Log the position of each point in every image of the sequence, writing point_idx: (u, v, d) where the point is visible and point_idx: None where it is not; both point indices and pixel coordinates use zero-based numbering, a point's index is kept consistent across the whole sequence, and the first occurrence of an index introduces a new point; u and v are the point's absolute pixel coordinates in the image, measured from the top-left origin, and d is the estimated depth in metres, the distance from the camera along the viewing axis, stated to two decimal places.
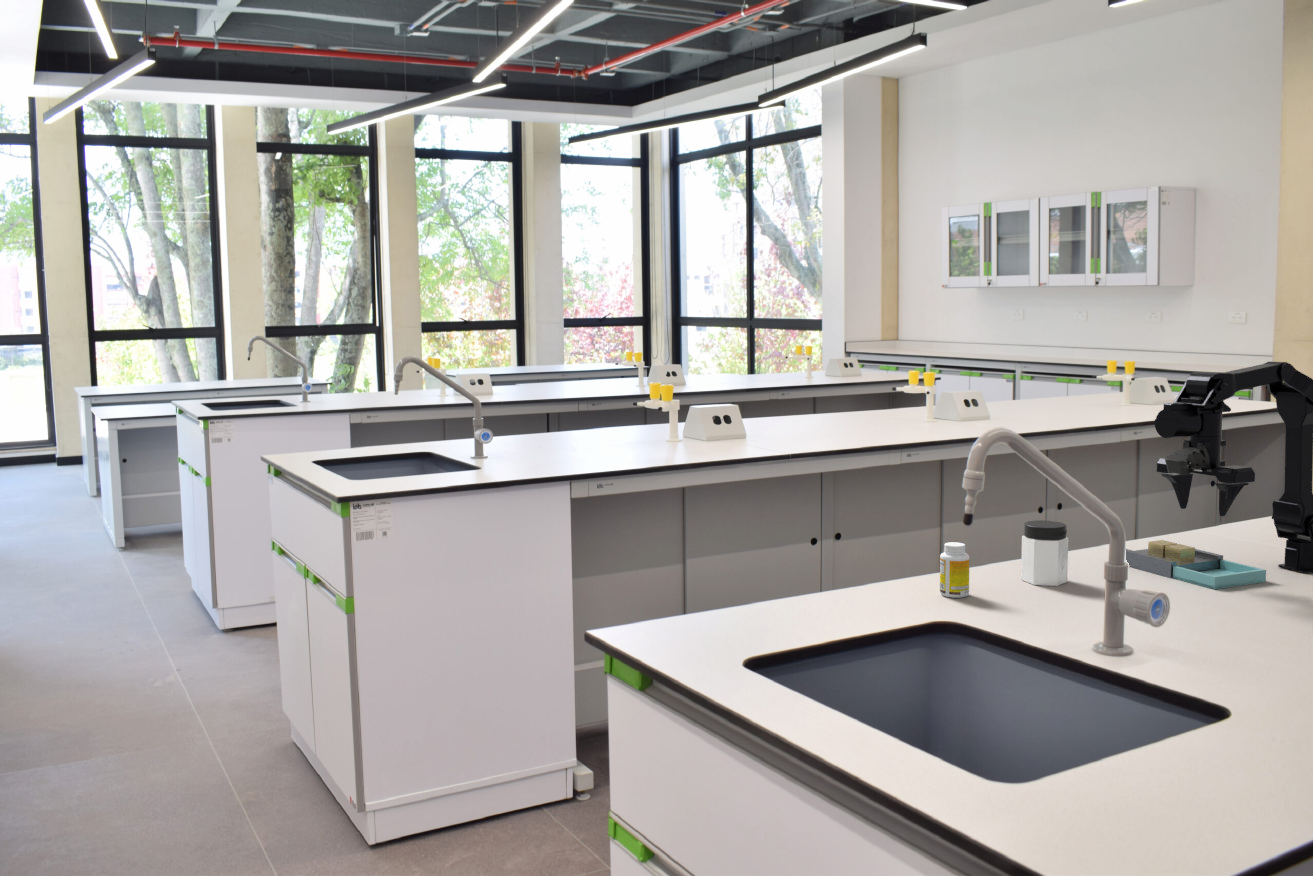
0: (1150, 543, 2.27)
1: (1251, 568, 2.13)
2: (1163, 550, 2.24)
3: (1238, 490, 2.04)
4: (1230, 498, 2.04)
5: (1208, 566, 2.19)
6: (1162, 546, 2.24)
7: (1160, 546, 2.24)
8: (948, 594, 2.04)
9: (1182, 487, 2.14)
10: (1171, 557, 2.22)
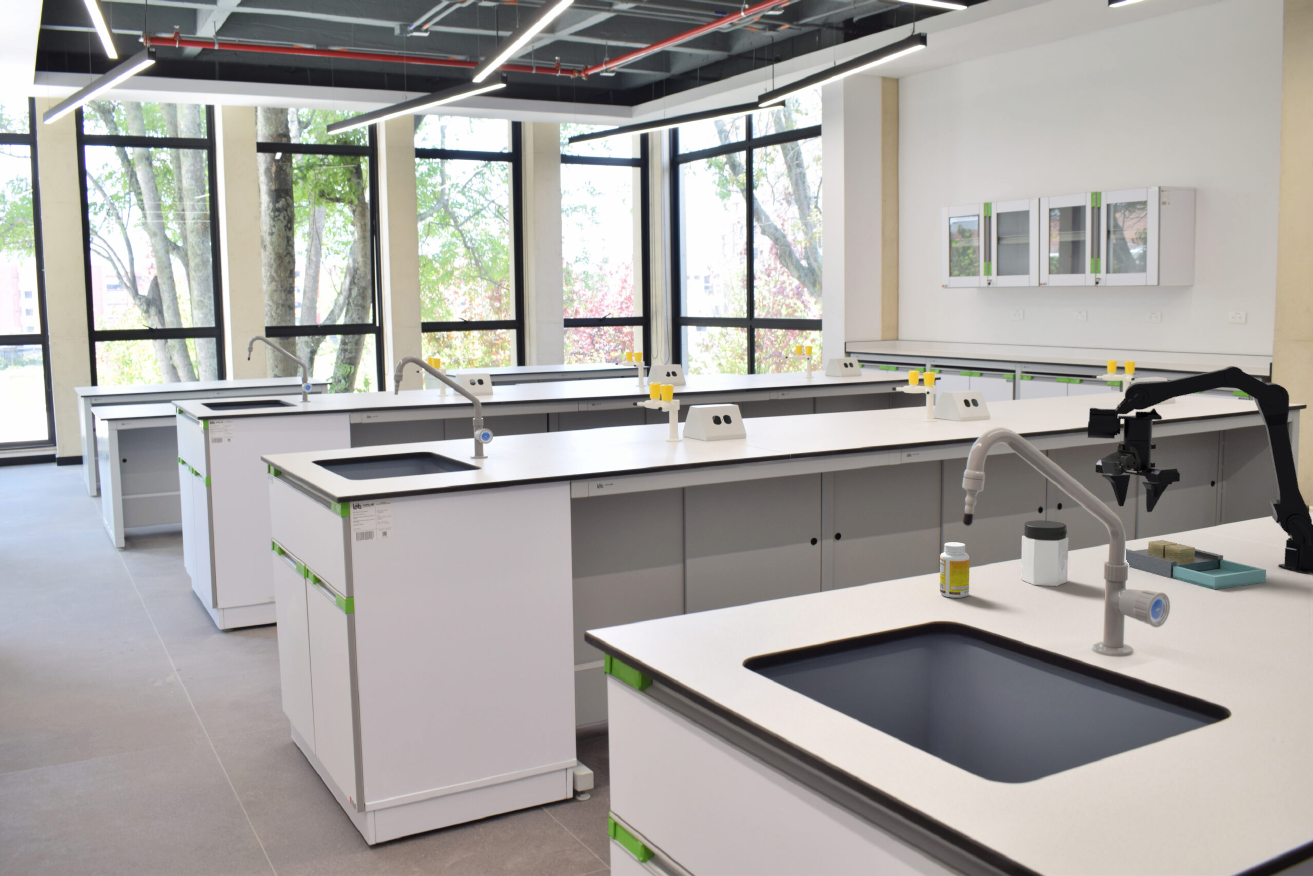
0: (1150, 543, 2.27)
1: (1251, 568, 2.13)
2: (1163, 550, 2.24)
3: (1163, 489, 2.27)
4: (1156, 496, 2.27)
5: (1208, 566, 2.19)
6: (1162, 546, 2.24)
7: (1160, 546, 2.24)
8: (948, 594, 2.04)
9: (1120, 486, 2.36)
10: (1171, 557, 2.22)
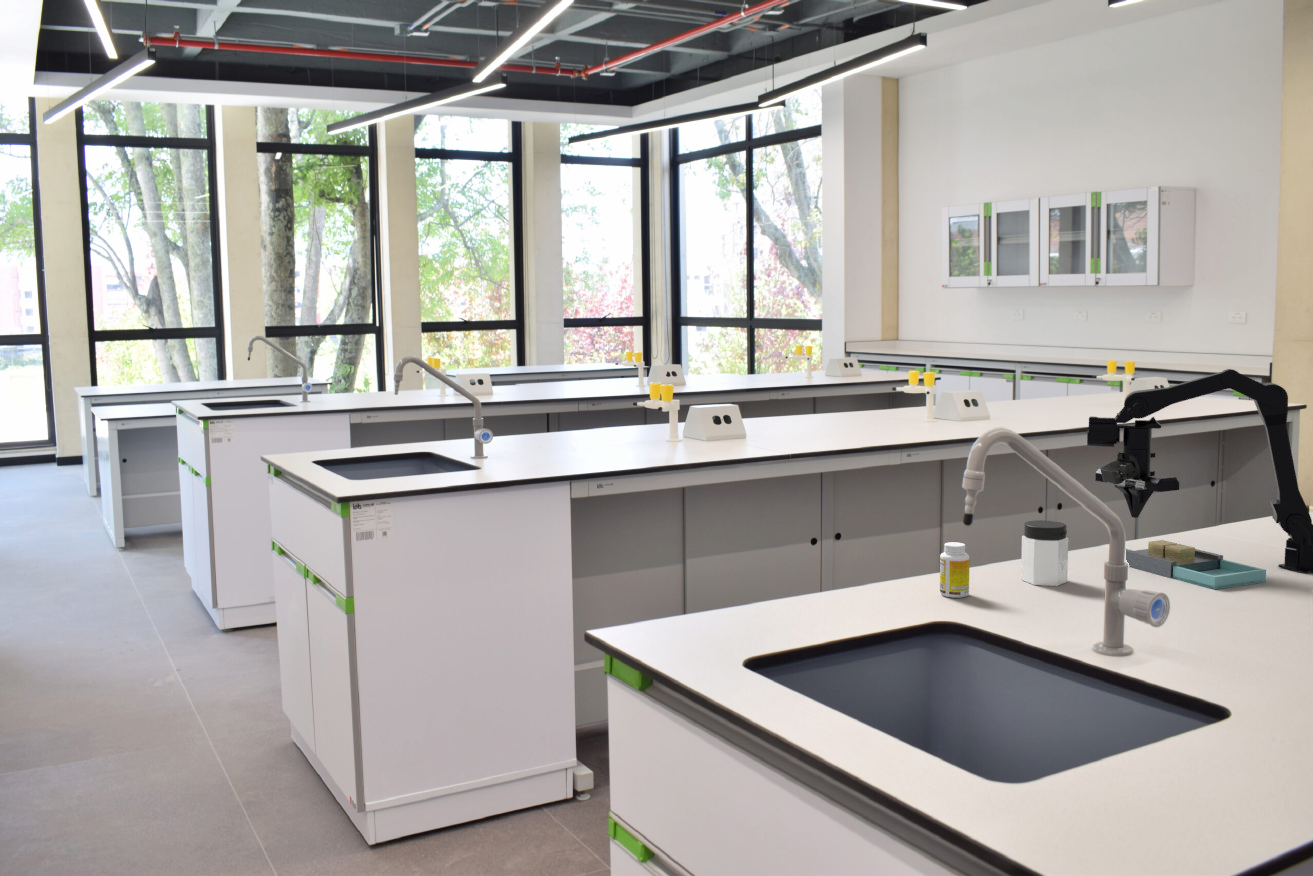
0: (1150, 543, 2.27)
1: (1251, 568, 2.13)
2: (1163, 550, 2.24)
3: (1149, 495, 2.31)
4: (1142, 502, 2.31)
5: (1208, 566, 2.19)
6: (1162, 546, 2.24)
7: (1160, 546, 2.24)
8: (948, 594, 2.04)
9: None
10: (1171, 557, 2.22)
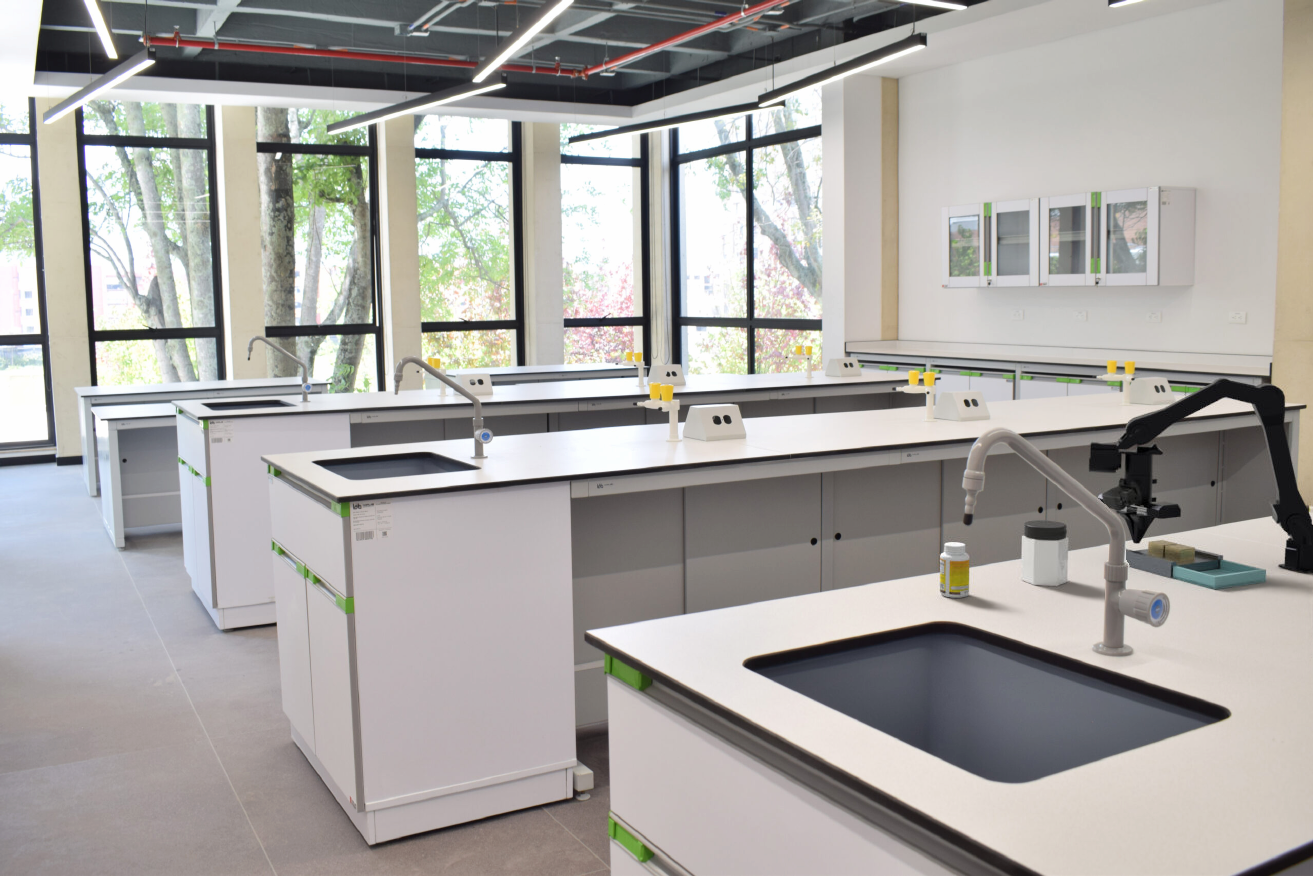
0: (1150, 543, 2.27)
1: (1251, 568, 2.13)
2: (1163, 550, 2.24)
3: (1151, 520, 2.31)
4: (1144, 528, 2.31)
5: (1208, 566, 2.19)
6: (1162, 546, 2.24)
7: (1160, 546, 2.24)
8: (948, 594, 2.04)
9: None
10: (1171, 557, 2.22)
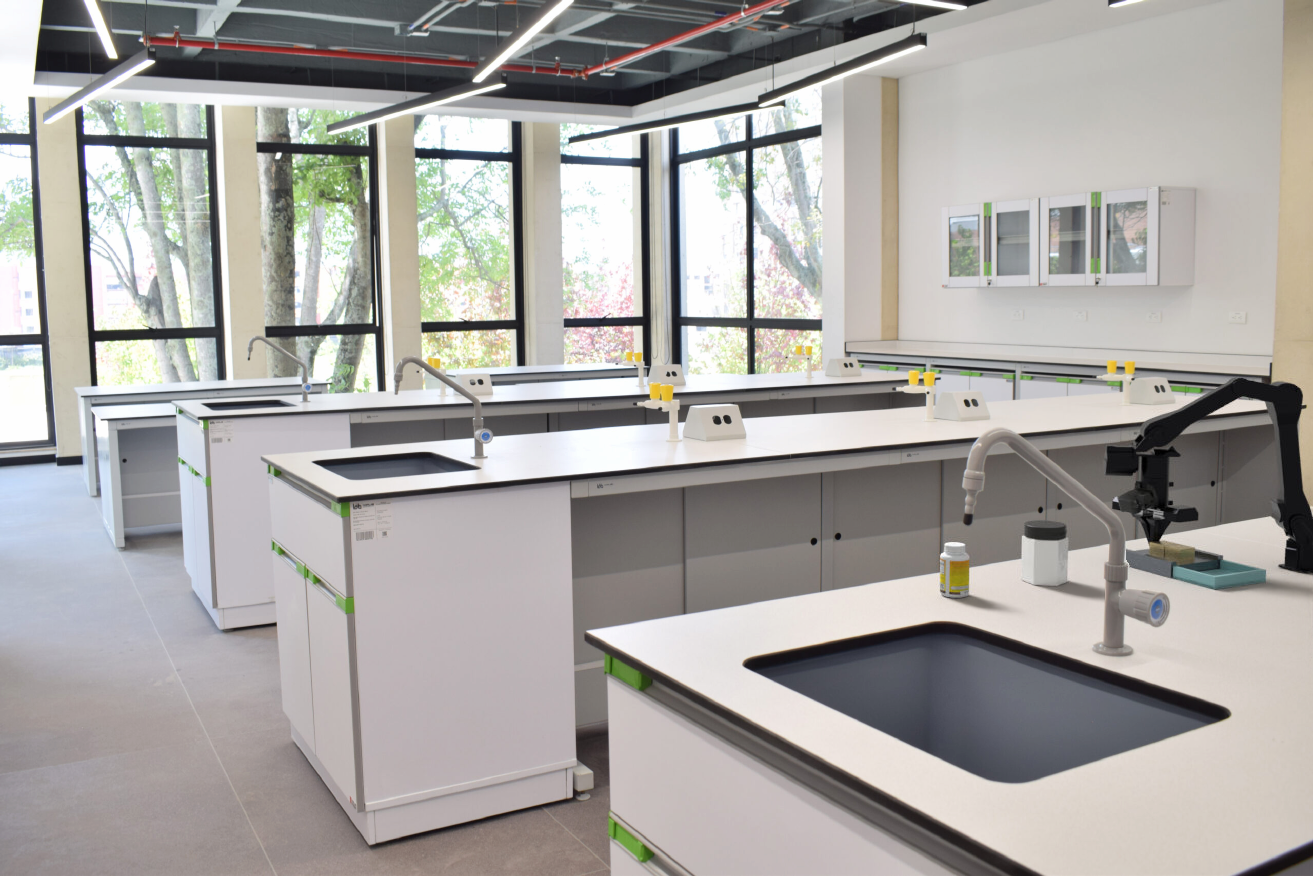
0: (1151, 543, 2.26)
1: (1251, 568, 2.13)
2: (1164, 550, 2.23)
3: (1167, 524, 2.27)
4: (1160, 531, 2.27)
5: (1208, 566, 2.19)
6: (1163, 546, 2.23)
7: (1162, 546, 2.24)
8: (948, 594, 2.04)
9: None
10: (1171, 557, 2.22)
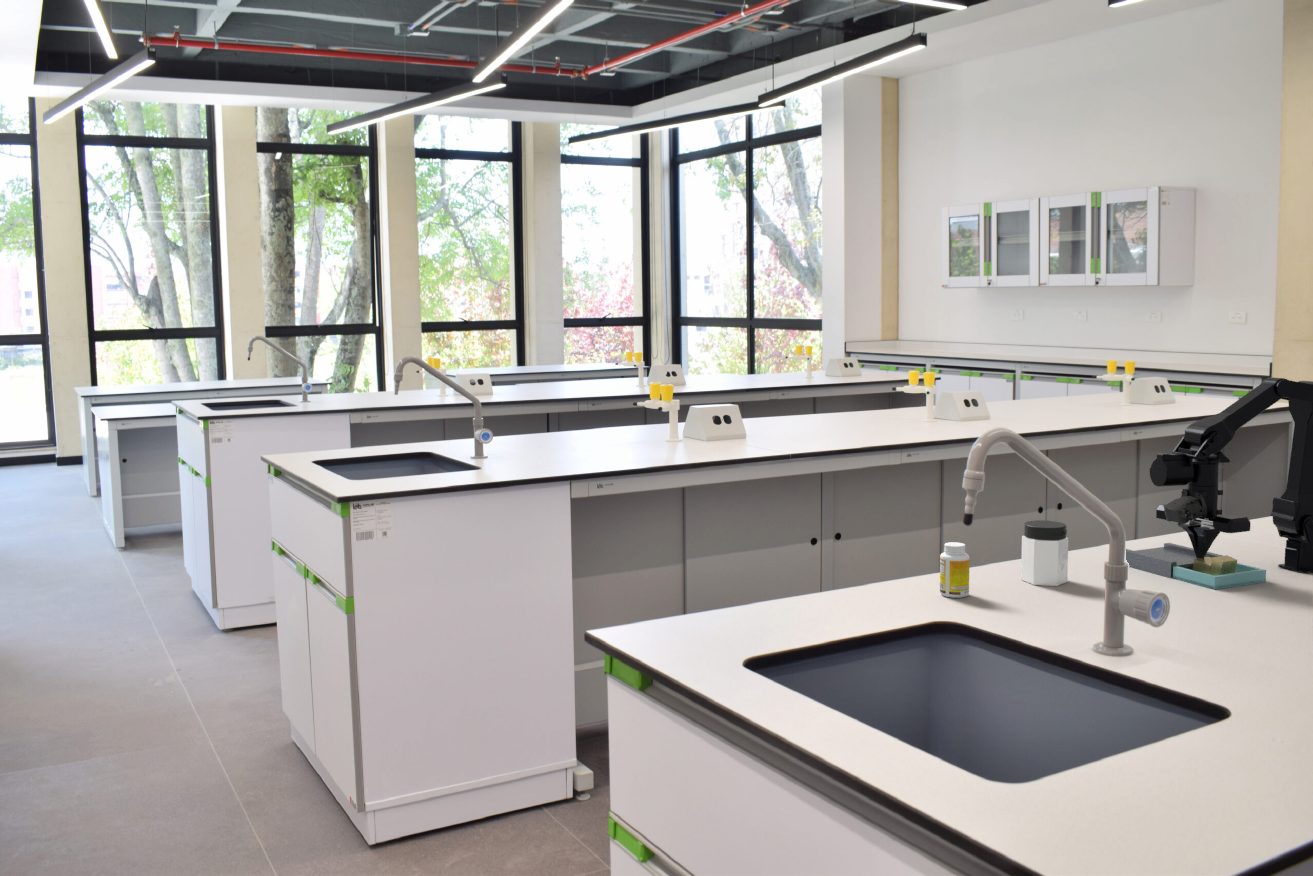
0: (1196, 560, 2.16)
1: (1251, 568, 2.13)
2: (1209, 571, 2.13)
3: (1216, 534, 2.15)
4: (1208, 542, 2.16)
5: None
6: (1209, 567, 2.13)
7: (1207, 566, 2.13)
8: (948, 594, 2.04)
9: None
10: (1211, 565, 2.12)
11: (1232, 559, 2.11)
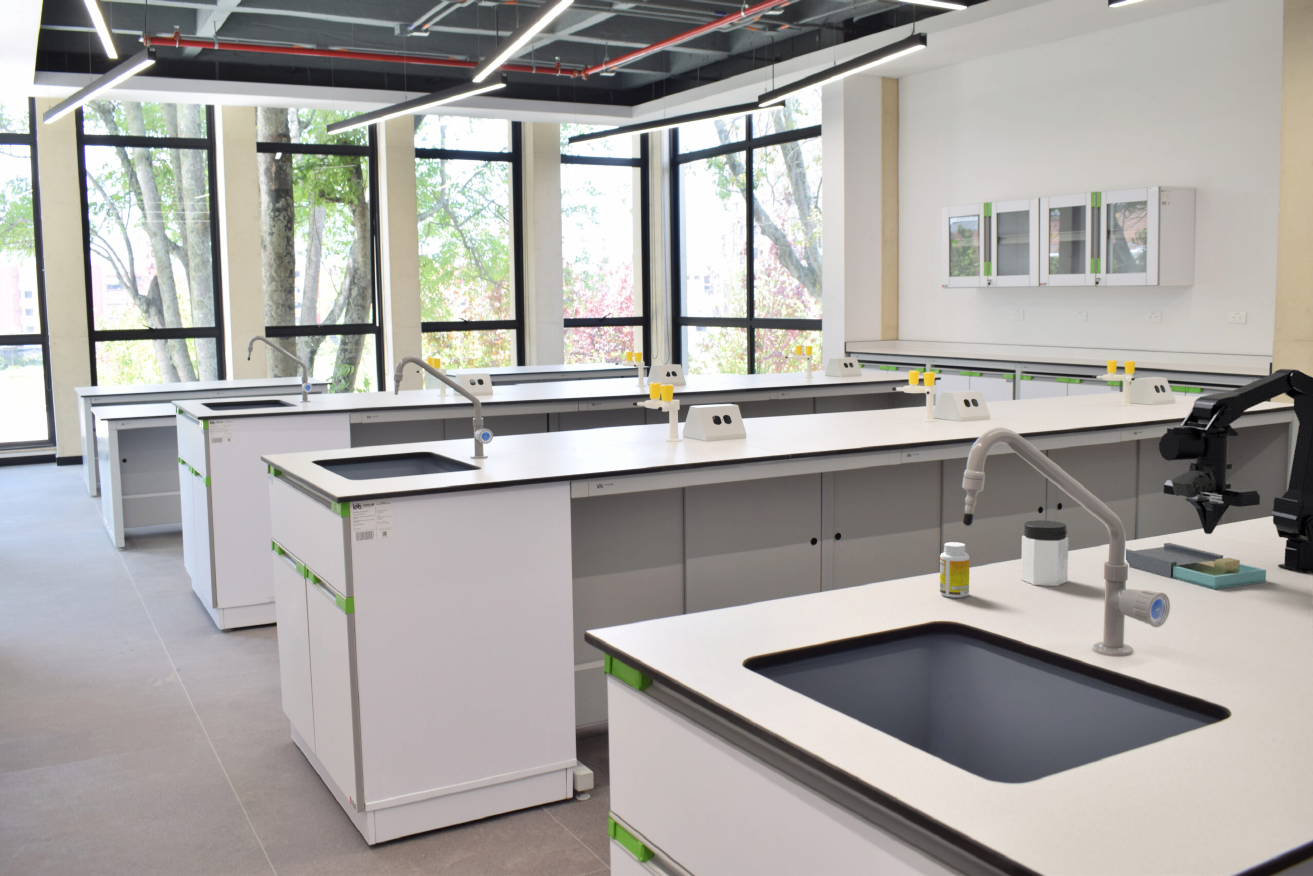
0: (1199, 564, 2.15)
1: (1251, 568, 2.13)
2: None
3: (1224, 509, 2.13)
4: (1216, 517, 2.13)
5: None
6: (1213, 568, 2.12)
7: (1211, 567, 2.12)
8: (948, 594, 2.04)
9: None
10: (1215, 568, 2.11)
11: (1234, 560, 2.11)
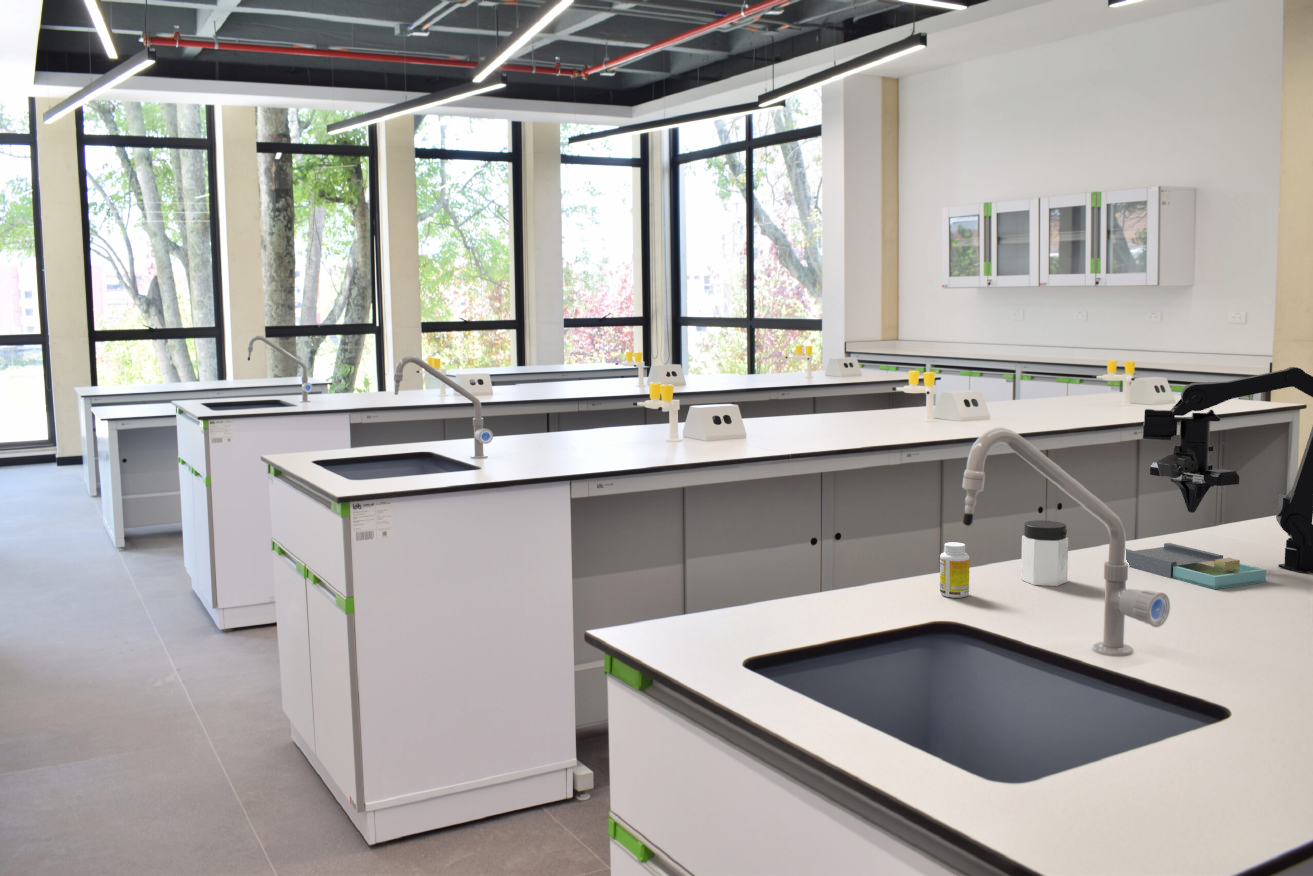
0: (1199, 564, 2.15)
1: (1251, 568, 2.13)
2: None
3: (1206, 489, 2.26)
4: (1199, 496, 2.27)
5: None
6: (1213, 568, 2.12)
7: (1211, 567, 2.12)
8: (948, 594, 2.04)
9: None
10: (1215, 568, 2.11)
11: (1234, 560, 2.11)
